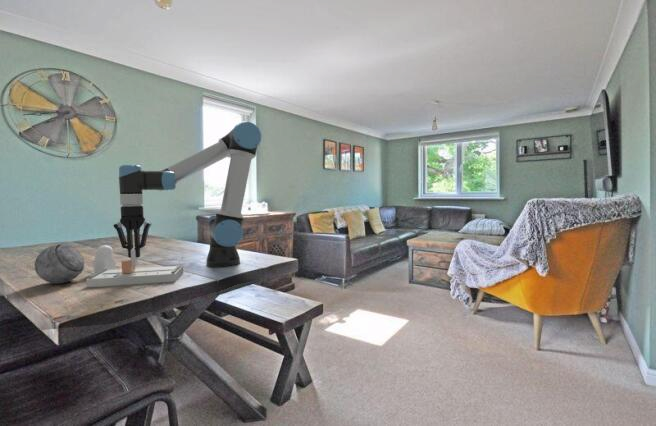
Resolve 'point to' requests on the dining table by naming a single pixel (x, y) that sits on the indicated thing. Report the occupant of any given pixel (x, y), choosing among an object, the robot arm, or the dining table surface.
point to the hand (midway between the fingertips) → (134, 265)
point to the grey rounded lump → (59, 263)
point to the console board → (135, 276)
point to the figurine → (104, 259)
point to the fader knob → (127, 266)
